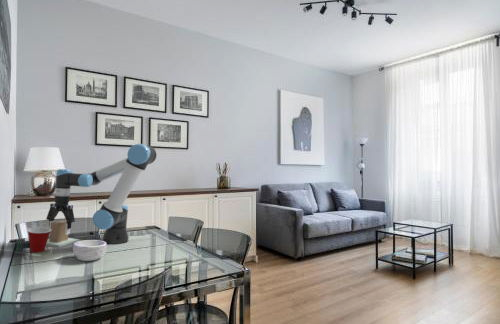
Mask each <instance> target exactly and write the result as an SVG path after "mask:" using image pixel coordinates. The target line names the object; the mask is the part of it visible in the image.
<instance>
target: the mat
mask: <svg viewBox="0 0 500 324" xmlns="http://www.w3.org/2000/svg"><path fill="white" fill-rule="evenodd" d="M83 240H84V239H79V241H83ZM74 243H75V242H74ZM74 243H71V244H67V245H64V246H60V247H56V246H49V245H46V246H45V248H46V247H47V248H52V249H62V248H66V247H69V246H72V245H73V244H74Z"/></svg>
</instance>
